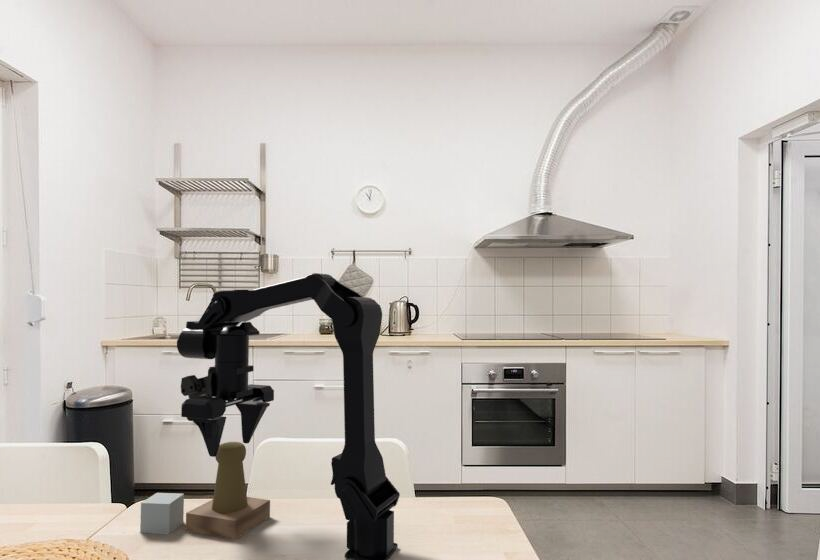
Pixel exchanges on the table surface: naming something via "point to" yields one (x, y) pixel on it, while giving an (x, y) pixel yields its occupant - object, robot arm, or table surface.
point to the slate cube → (162, 513)
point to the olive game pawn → (230, 479)
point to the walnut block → (227, 519)
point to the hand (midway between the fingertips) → (230, 449)
